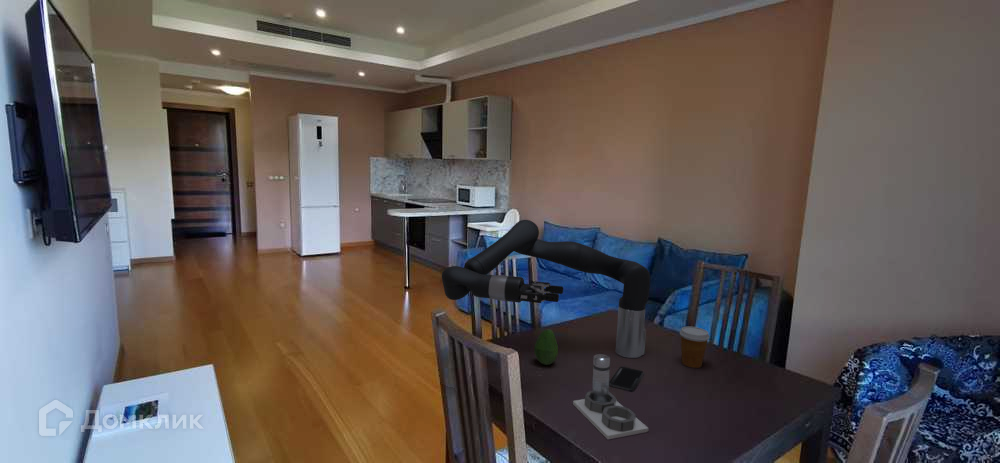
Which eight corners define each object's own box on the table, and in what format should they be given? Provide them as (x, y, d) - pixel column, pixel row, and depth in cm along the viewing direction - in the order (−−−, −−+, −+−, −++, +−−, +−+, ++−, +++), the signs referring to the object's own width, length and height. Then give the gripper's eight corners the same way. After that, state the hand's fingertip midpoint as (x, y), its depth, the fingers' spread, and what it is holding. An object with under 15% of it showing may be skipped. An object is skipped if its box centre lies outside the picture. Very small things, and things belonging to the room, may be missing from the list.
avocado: (557, 359, 164) (558, 326, 162) (557, 369, 156) (559, 334, 155) (534, 358, 165) (535, 324, 163) (533, 367, 157) (534, 333, 155)
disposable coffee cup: (676, 366, 161) (679, 333, 160) (677, 356, 170) (680, 324, 168) (706, 372, 158) (710, 337, 156) (706, 361, 167) (709, 328, 165)
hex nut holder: (609, 398, 138) (610, 386, 138) (648, 431, 121) (649, 419, 121) (572, 404, 134) (573, 392, 134) (607, 439, 117) (608, 426, 117)
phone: (607, 383, 146) (620, 365, 159) (607, 387, 146) (620, 369, 159) (633, 390, 142) (644, 371, 155) (633, 393, 142) (644, 374, 155)
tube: (602, 400, 135) (604, 353, 133) (611, 408, 130) (613, 359, 128) (588, 402, 133) (590, 355, 131) (596, 410, 129) (598, 361, 127)
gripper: (500, 281, 133) (557, 287, 129) (512, 270, 147) (565, 275, 143) (499, 307, 135) (556, 314, 130) (511, 294, 148) (563, 299, 144)
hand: (560, 294), depth 137 cm, fingers open, 8 cm apart
